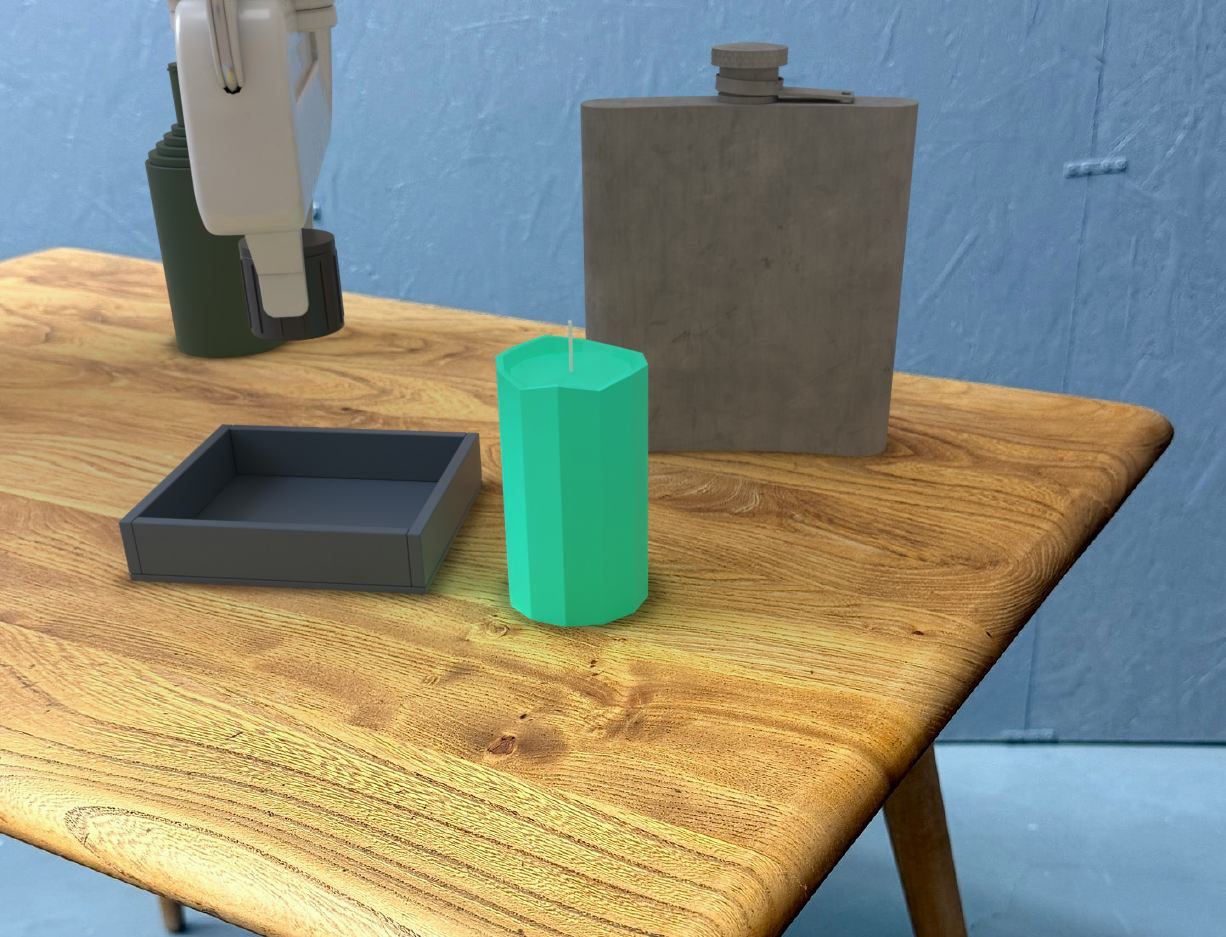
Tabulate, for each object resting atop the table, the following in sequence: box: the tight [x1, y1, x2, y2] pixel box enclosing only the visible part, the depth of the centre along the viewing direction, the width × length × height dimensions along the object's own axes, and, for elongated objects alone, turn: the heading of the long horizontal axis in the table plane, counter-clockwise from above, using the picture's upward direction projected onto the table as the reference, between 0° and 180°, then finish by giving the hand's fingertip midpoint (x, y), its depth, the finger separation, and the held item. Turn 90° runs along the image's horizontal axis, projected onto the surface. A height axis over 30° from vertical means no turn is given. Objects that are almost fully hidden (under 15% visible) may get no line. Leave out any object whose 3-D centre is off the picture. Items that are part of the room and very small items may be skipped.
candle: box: [494, 319, 649, 628], centre depth 53 cm, size 6×6×12 cm
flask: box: [144, 61, 288, 359], centre depth 83 cm, size 7×7×18 cm
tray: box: [118, 423, 483, 596], centre depth 61 cm, size 13×12×3 cm
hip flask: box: [579, 41, 920, 458], centre depth 66 cm, size 16×4×20 cm, turn 87°
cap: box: [238, 228, 345, 342], centre depth 56 cm, size 4×4×4 cm
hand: (293, 295), depth 56 cm, fingers closed on cap, 4 cm apart
